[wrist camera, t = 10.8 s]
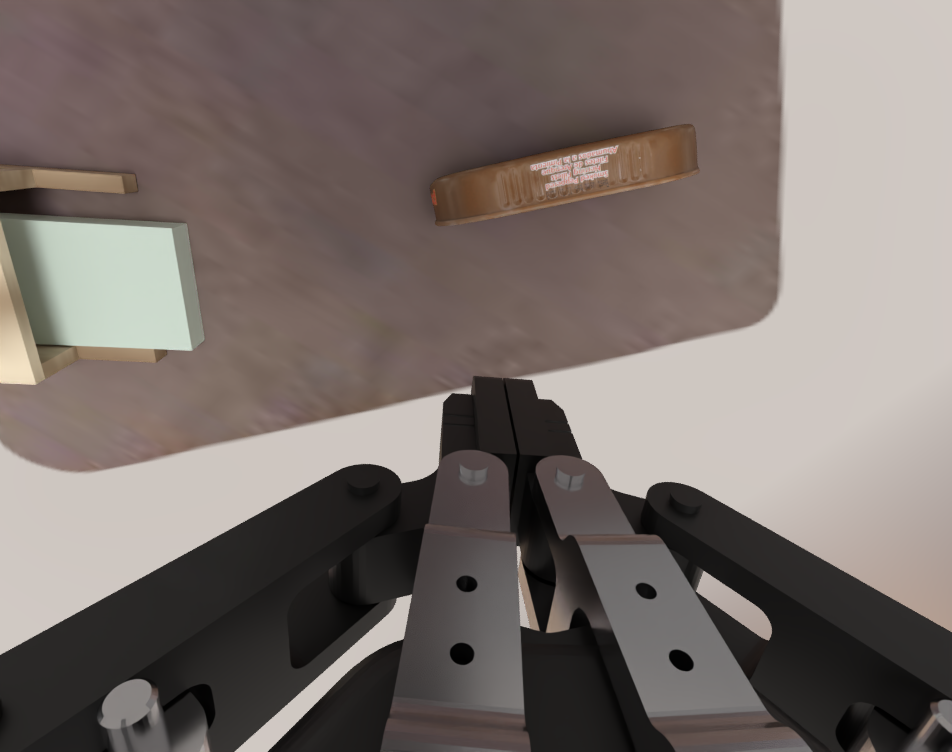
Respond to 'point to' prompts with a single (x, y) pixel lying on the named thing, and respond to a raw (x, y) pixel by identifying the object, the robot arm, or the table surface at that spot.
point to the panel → (105, 281)
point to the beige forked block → (3, 312)
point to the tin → (566, 175)
